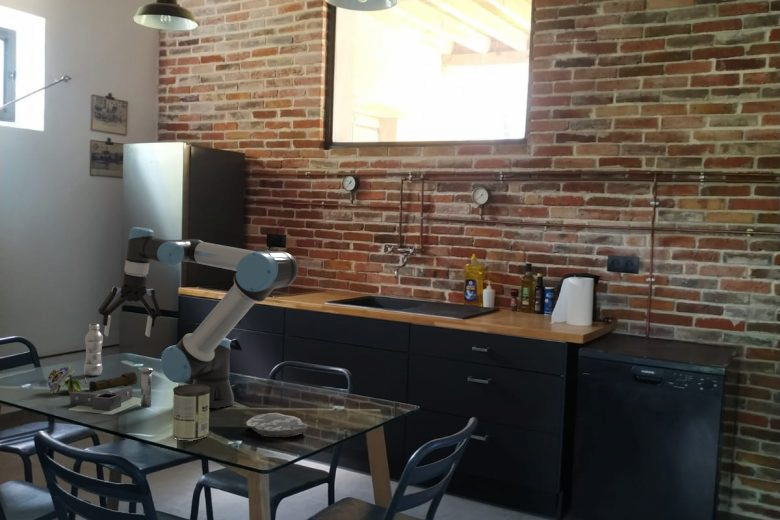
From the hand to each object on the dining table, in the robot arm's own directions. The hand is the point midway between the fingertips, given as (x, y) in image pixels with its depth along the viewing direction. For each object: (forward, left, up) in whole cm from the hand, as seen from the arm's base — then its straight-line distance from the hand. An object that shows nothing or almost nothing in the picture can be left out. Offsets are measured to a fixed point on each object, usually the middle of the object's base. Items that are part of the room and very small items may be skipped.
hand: (127, 335), depth 241 cm
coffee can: (-38, +27, -23) cm, 52 cm away
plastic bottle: (+33, -29, -23) cm, 50 cm away
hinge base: (+5, +11, -22) cm, 25 cm away
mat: (+2, +6, -23) cm, 23 cm away
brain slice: (-59, +14, -23) cm, 65 cm away
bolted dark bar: (0, +2, -22) cm, 22 cm away
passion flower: (+25, -2, -23) cm, 34 cm away
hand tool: (+15, -17, -23) cm, 32 cm away
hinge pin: (-10, +4, -23) cm, 25 cm away
